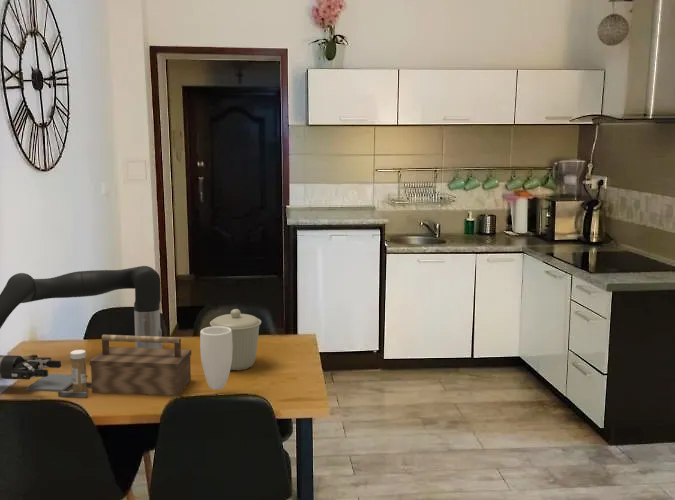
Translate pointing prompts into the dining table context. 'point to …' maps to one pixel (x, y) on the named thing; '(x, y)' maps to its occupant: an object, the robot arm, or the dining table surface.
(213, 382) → the cup
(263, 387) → the dining table surface
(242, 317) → the canister
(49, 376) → the slate mat
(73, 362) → the sprinkles bottle
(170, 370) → the toolbox
